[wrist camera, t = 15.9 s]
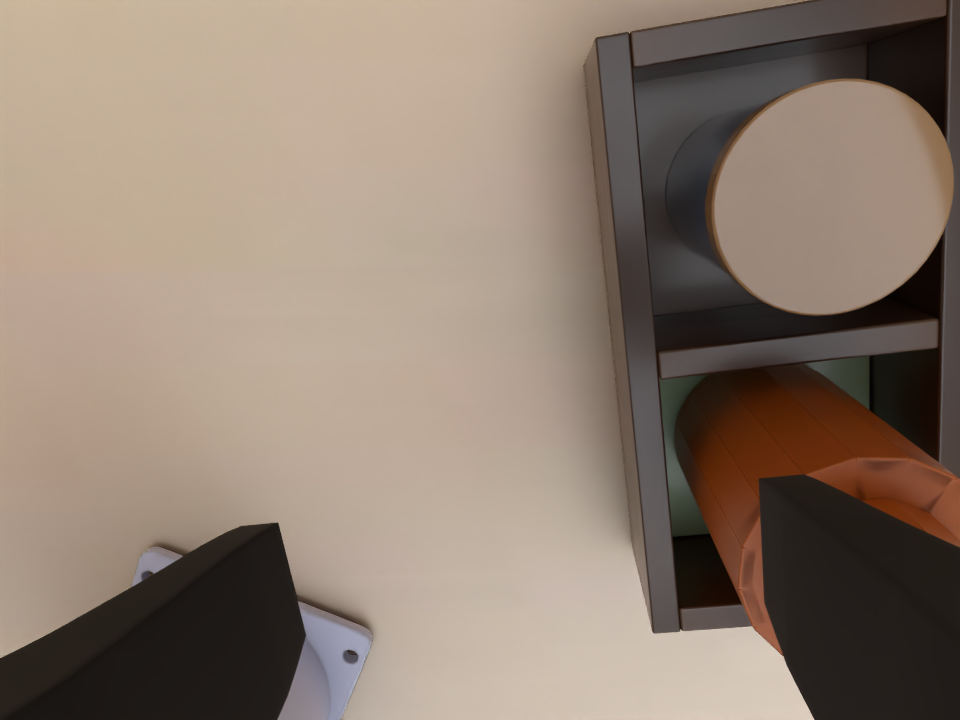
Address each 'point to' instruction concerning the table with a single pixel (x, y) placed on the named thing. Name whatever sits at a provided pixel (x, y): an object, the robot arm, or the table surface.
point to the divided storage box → (723, 303)
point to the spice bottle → (797, 463)
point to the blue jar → (815, 194)
